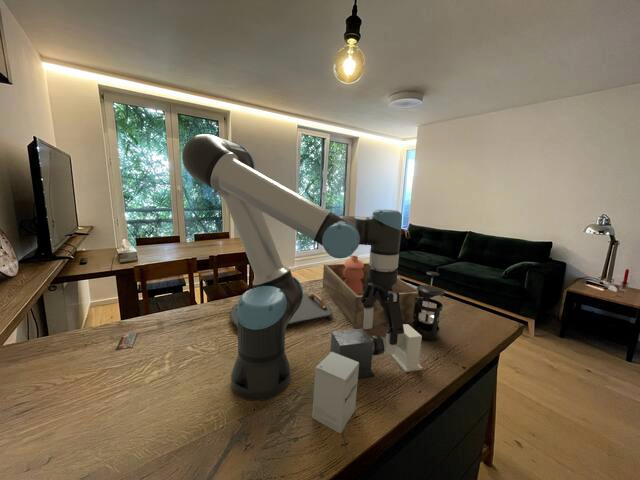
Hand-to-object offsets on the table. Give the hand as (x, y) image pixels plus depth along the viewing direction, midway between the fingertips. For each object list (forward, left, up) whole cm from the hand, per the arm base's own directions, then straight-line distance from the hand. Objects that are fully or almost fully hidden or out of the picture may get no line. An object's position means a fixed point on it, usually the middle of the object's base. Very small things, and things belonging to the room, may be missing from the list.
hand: (377, 340), depth 77 cm
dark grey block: (-8, 0, -8) cm, 11 cm away
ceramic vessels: (+16, +40, -9) cm, 44 cm away
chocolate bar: (-71, +27, -9) cm, 77 cm away
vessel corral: (+16, +42, -8) cm, 46 cm away
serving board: (-22, +36, -9) cm, 43 cm away
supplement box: (-17, -14, -8) cm, 24 cm away
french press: (+26, +13, -8) cm, 30 cm away
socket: (+10, 0, -8) cm, 13 cm away
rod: (-3, 0, -4) cm, 5 cm away
